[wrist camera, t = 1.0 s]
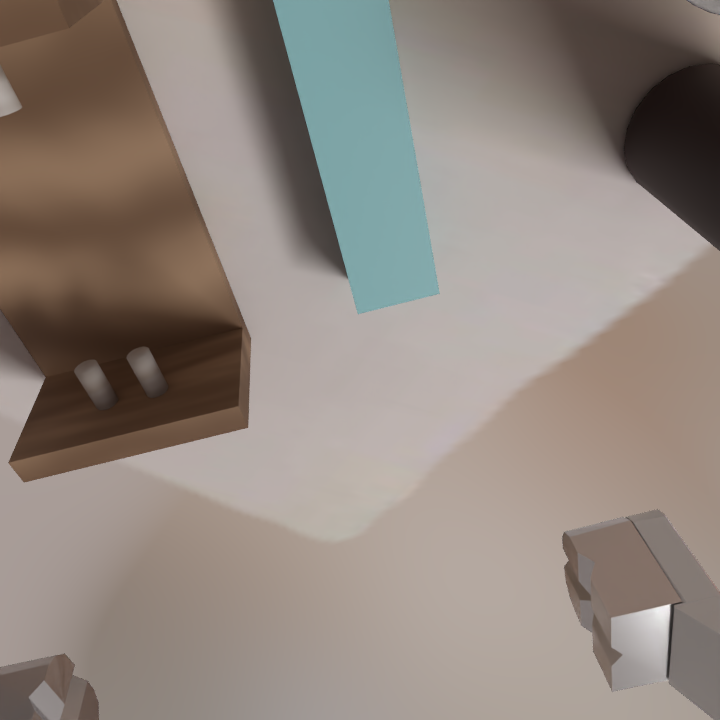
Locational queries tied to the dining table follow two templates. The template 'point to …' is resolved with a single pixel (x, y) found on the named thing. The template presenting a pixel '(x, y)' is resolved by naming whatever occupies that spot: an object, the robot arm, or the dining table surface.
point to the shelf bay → (106, 251)
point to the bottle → (681, 147)
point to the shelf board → (362, 144)
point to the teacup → (707, 5)
